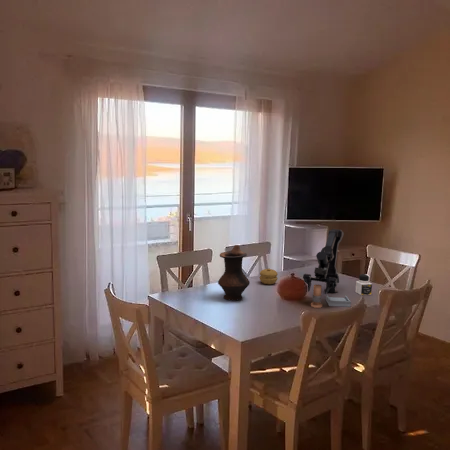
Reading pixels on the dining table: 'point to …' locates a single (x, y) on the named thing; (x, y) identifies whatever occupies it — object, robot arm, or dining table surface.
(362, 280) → the medicine bottle
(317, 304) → the wooden spool
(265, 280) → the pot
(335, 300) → the notched board
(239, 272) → the dark brown vase
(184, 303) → the dining table surface
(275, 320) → the dining table surface
